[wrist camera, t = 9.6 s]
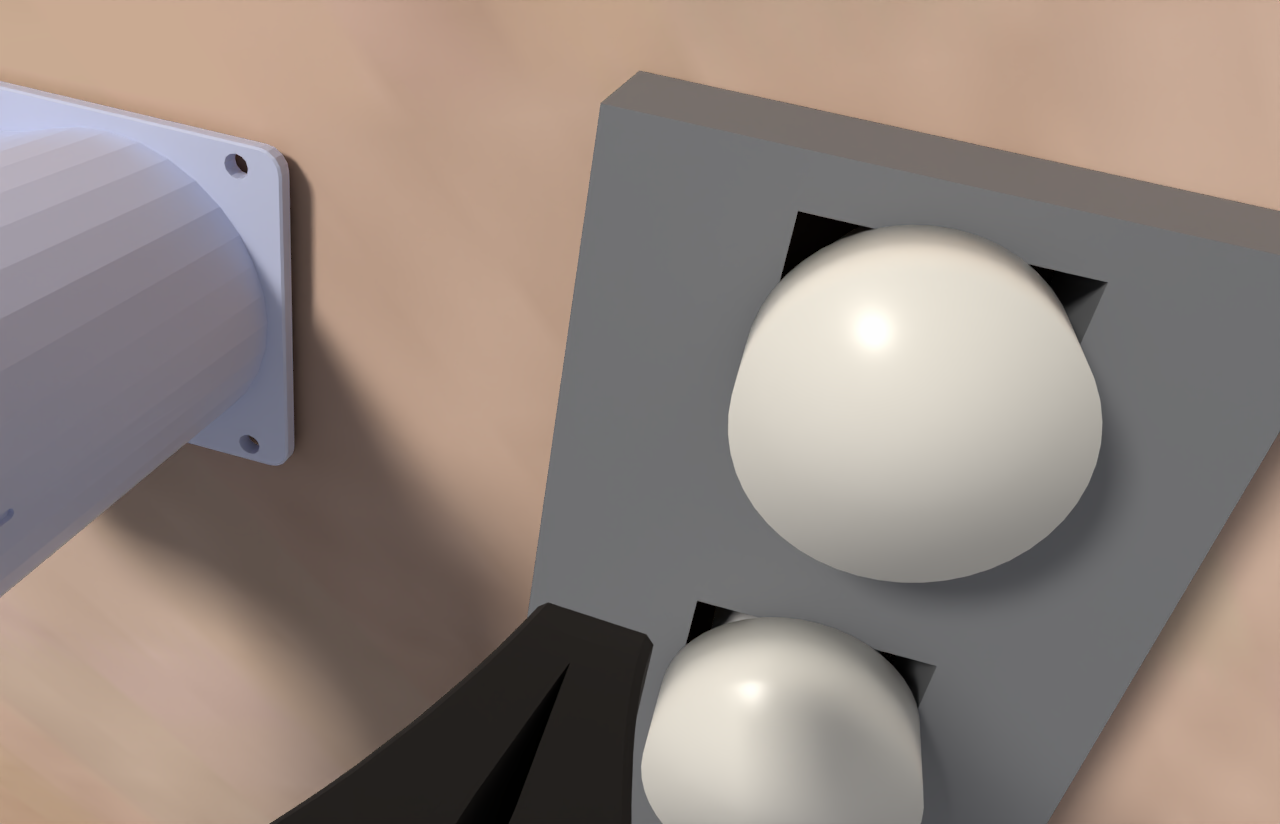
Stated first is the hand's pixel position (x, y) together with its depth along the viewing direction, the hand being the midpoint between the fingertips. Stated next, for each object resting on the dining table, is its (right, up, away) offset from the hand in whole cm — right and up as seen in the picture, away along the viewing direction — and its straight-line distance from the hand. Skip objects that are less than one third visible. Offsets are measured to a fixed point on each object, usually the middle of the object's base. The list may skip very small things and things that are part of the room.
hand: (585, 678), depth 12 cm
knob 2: (+4, -2, +12) cm, 13 cm away
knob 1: (+6, +5, +8) cm, 11 cm away
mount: (+4, -2, +12) cm, 13 cm away
